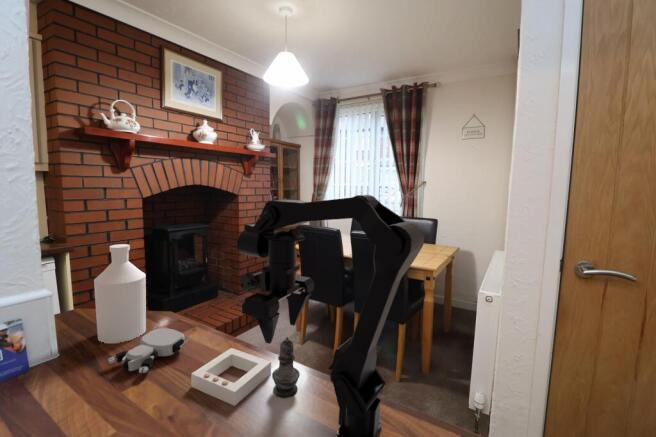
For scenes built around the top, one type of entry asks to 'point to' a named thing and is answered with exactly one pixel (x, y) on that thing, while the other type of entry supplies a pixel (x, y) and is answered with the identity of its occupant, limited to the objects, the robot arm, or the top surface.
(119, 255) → the bottle
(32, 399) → the top surface
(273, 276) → the robot arm
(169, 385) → the top surface
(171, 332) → the robot toy
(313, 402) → the top surface
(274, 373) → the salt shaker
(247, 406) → the top surface
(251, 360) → the socket block
